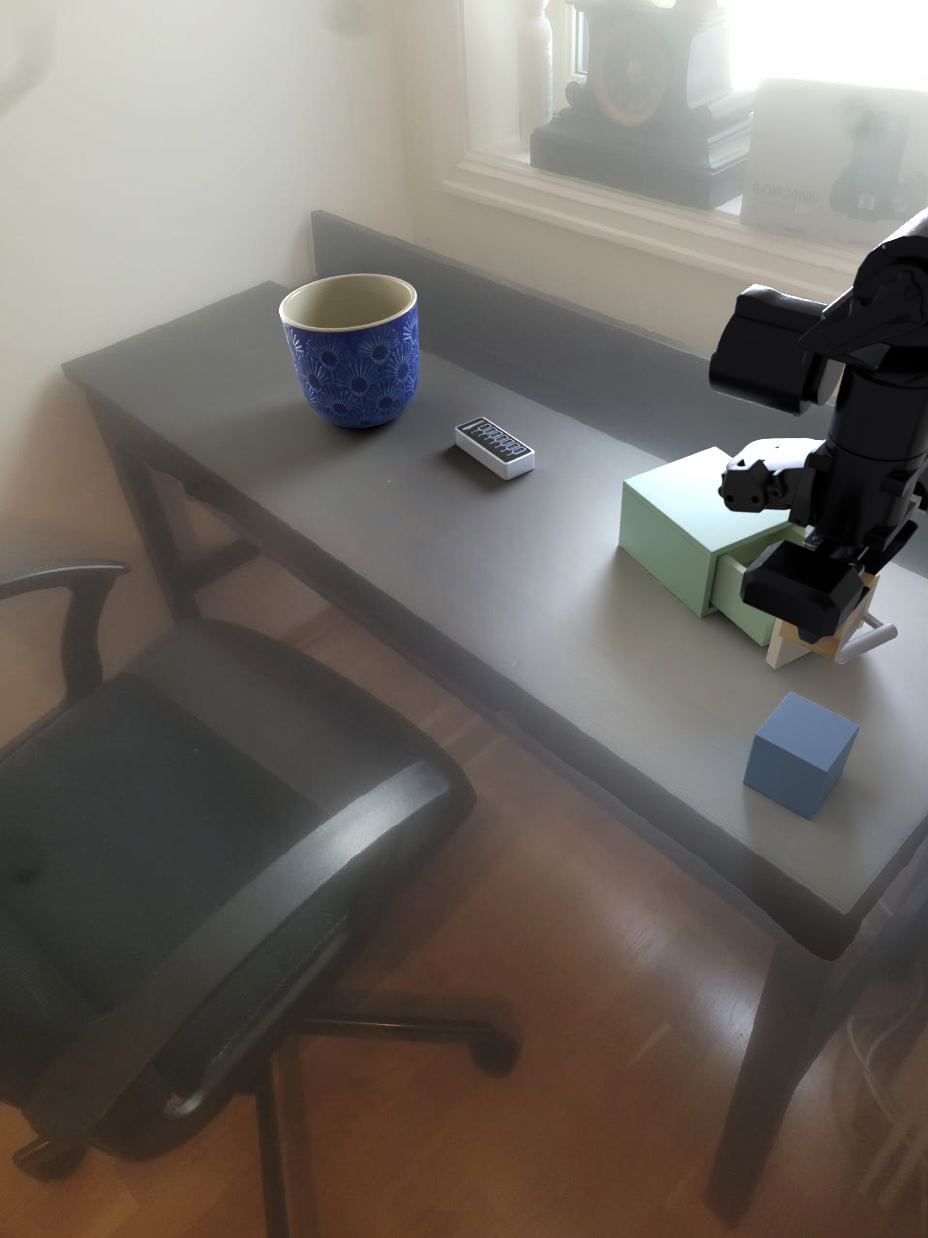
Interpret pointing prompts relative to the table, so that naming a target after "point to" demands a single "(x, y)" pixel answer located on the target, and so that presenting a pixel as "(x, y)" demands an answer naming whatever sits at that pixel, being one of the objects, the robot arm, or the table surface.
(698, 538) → the cabinet
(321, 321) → the planter
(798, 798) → the block
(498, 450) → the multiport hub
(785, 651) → the drawer
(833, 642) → the block
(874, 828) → the table surface
